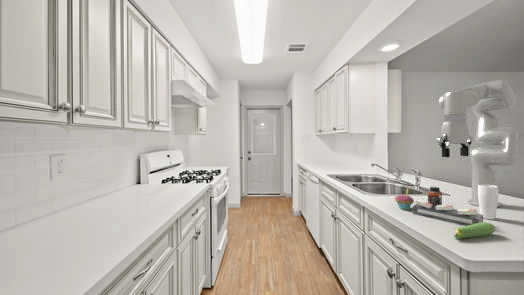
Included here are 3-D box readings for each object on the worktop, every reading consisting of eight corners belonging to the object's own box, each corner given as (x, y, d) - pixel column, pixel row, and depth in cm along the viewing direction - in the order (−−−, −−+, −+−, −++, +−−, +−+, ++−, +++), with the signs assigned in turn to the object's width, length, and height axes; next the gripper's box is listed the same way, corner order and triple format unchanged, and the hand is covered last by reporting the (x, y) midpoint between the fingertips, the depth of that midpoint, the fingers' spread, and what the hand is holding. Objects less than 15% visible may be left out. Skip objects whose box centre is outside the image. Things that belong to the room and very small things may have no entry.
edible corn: (501, 225, 85) (487, 218, 89) (458, 232, 81) (446, 224, 86) (496, 236, 87) (483, 229, 91) (454, 244, 83) (442, 236, 87)
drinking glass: (493, 216, 106) (494, 184, 105) (501, 221, 100) (501, 187, 99) (474, 214, 109) (475, 184, 108) (481, 219, 103) (481, 186, 102)
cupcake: (413, 207, 122) (413, 185, 122) (414, 211, 115) (413, 188, 115) (395, 205, 127) (395, 184, 127) (394, 209, 120) (394, 187, 119)
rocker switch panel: (419, 210, 117) (419, 201, 117) (483, 223, 97) (483, 213, 97) (412, 213, 112) (412, 204, 112) (478, 228, 93) (478, 217, 93)
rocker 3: (460, 212, 100) (459, 209, 100) (477, 213, 95) (476, 209, 96) (458, 214, 98) (457, 210, 99) (475, 214, 94) (474, 210, 94)
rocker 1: (418, 202, 113) (418, 199, 113) (431, 207, 109) (432, 204, 108) (415, 203, 112) (416, 200, 111) (429, 208, 107) (430, 205, 107)
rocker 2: (438, 208, 107) (437, 205, 107) (453, 208, 102) (452, 205, 102) (435, 209, 105) (435, 206, 105) (451, 210, 100) (450, 206, 100)
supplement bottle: (444, 210, 116) (444, 188, 116) (431, 209, 118) (431, 188, 117) (437, 206, 122) (438, 186, 122) (425, 206, 123) (425, 185, 123)
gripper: (463, 119, 107) (463, 155, 107) (430, 120, 104) (430, 156, 105) (480, 117, 99) (480, 156, 100) (446, 118, 97) (446, 158, 98)
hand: (455, 156), depth 103 cm, fingers open, 9 cm apart
